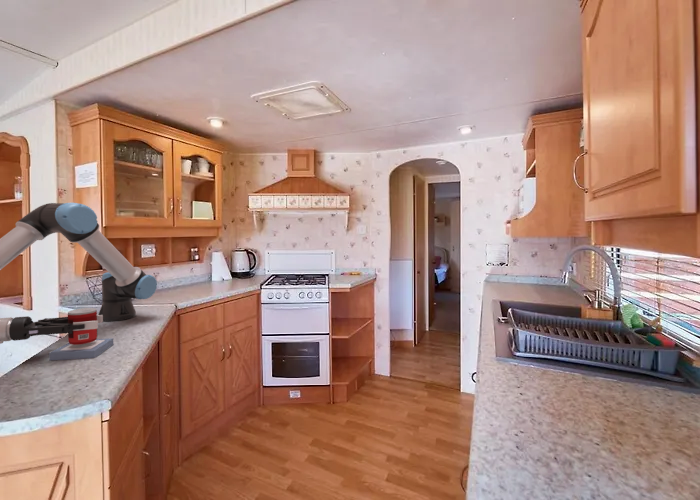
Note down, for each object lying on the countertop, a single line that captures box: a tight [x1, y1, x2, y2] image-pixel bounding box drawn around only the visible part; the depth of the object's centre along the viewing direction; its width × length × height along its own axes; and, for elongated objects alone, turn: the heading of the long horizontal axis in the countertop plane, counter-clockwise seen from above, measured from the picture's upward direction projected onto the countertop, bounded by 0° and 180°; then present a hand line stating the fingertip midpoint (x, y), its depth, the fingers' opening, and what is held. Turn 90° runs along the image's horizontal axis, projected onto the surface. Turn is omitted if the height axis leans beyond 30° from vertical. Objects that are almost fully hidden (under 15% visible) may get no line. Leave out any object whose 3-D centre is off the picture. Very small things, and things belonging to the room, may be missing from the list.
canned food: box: [67, 307, 98, 345], centre depth 114 cm, size 8×8×11 cm
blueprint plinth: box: [48, 337, 114, 361], centre depth 114 cm, size 13×13×3 cm
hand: (99, 321), depth 116 cm, fingers closed on canned food, 8 cm apart
